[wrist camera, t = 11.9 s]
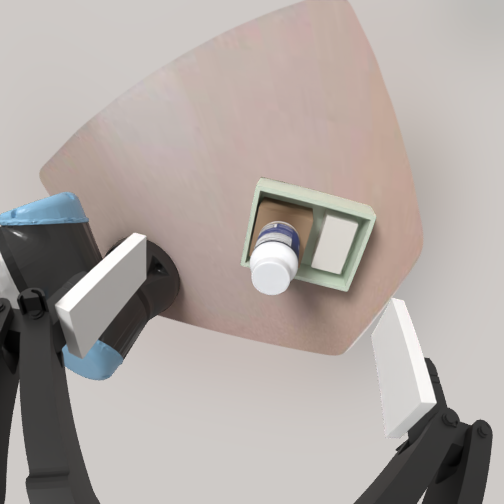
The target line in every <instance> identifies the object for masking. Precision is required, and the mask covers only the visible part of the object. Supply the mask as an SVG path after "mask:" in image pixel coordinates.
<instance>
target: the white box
mask: <svg viewBox="0 0 504 504" xmlns="http://www.w3.org/2000/svg"><path fill="white" fill-rule="evenodd" d="M357 227H358V223H357V220H356V217H355V216H351V215H348V214H344V213H341V212H337V211H333V210H330V209H326V210H325V214H324V217H323V220H322V224H321V227H320V230H319V233H318V237H317V240H316V243H315V246H314V249H313V253H312V256H311V267H312V268H316V269H320V270H324V271H328V272H332V273H336V274H340V273H341V270H342V268H343V265H344V263H345V260H346V257H347V255H348V252H349V249H350V246H351V244H352V241H353V238H354V235H355V232H356V230H357Z"/></svg>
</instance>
